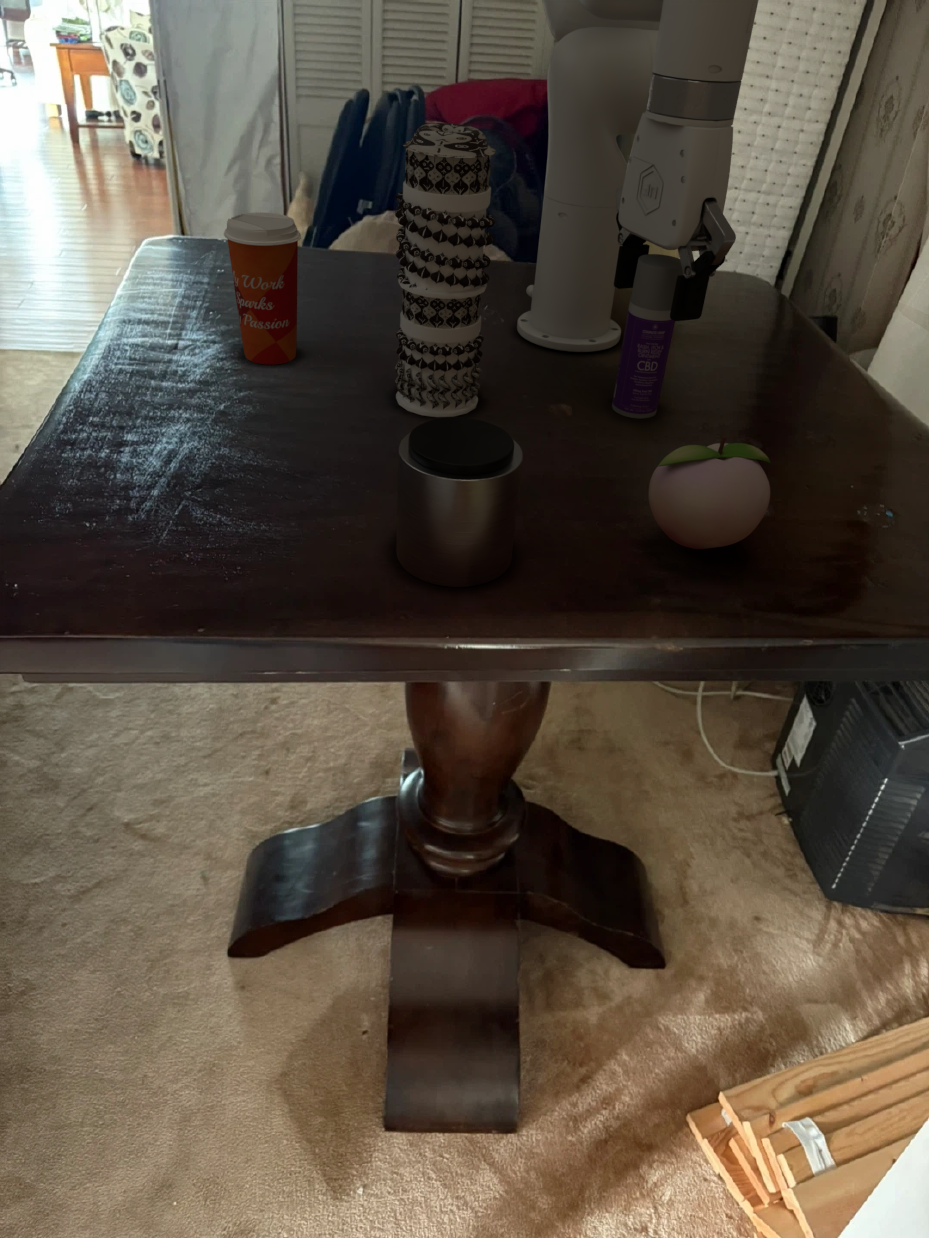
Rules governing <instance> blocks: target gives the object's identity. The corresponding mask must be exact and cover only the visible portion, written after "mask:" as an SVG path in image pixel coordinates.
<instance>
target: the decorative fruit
mask: <svg viewBox="0 0 929 1238" xmlns="http://www.w3.org/2000/svg"><path fill="white" fill-rule="evenodd" d="M759 461H763V462H765V463H767V464H771V460H770V458H769V457H768V455H767V454H766V453H764V451H762V450H761V449H760V448H758V447H756V446H754V445H751V444H748V443H742V442H731V443H727V435H725V434H723V435H722V436H721V438H720V442H718V443H713V444H709V445H707V446H705V445H700V444H687V445H684V446H680V447H678V448H676V449H673V451H671V452H670V453H668V454H667V455H666V456H665V457H664V458H663V459H662V460H661V461H660V462H659V463H658V465H657V466H656V468H655V469H654V471H653V473H652V475H651V477H650V481H649V484H648V494H647V495H648V504H649V508H650V512H651V514H652V516H653V518H654V520H655V522H656V524H657V526H658V527H659V529H661V531H662V532H663V533H664V534H665V535H666V536H667V537H668V538H669V539H670V540H671V541H673V542H674V543H676V544H678V545H680V546H682V547H685V548H689V549H693V550H705V549H706V550H707V549H713V548H721V547H726V546H730V545H734V544H736V543H738V542H740V541H743V540H745V539H746V538H747V537H748V536H749V535H751V534H752V533H753V532H754V531H755V529H756V528H757V527H758V525H759V524H760V523H761V521H762V519H763V518H764V516H765V514H766V512H767V510H768V507H769V504H770V500H771V486H770V481H769V479H768V476H767V474H766V472H765V471H764V468H763V467H762V465H761V464H760V462H759Z"/></svg>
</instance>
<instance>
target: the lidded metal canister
mask: <svg viewBox="0 0 929 1238" xmlns="http://www.w3.org/2000/svg"><path fill="white" fill-rule="evenodd" d="M397 457H398V460H397V461H398V462H397V500H396V501H397V503H396V504H397V506H396V507H397V508H396V547H395V548H396V551H395V552H396V558H397V561H398V562H399V564H400V566H401V567H402V568H403V570H405V571H406V572H407V573H408V574H410V575H411V576H413V577H415V578H417V579H418V580H421V581H423V582H425V583H428V584H429V583H430V584H432V585H437V586H441V587H447V588H450V587H451V588H469V587H476V586H480V585H484V584H488V583H490V582H492V581H495V580H497V579H498V578H499V577H501V576H502V575H504V574H505V573H506V572H507V570H508V569H509V568H510V565H511V563H512V560H513V559H512V558H513V549H514V541H515V533H516V522H517V515H518V514H517V513H518V505H519V495H520V488H521V478H522V469H523V461H524V452H523V450H522V448H521V446H520V444H518V442H517V441H515V439H513V437H512V436H511V434H510V433H509V432H508V431H506V429H504V428H502V427H500V426H498V425H496V424H494V423H491V422H489V421H484V420H482V419H476V418H472V417H471V418H469V417H461V416H459V417H458V416H454V417H439V418H435V419H431V420H427V421H424V422H422V423H420V424H419V425H417V426H415V427H414V428H413V429H412V430H411V431H410V432H409V433H408V434H406V435H405V436H403V438H402V439H401V440H400V442H399V444H398V456H397Z"/></svg>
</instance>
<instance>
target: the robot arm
mask: <svg viewBox="0 0 929 1238" xmlns="http://www.w3.org/2000/svg"><path fill="white" fill-rule="evenodd" d="M541 3H542V7H543V12H544V15H545V18H546V19H545V20H546V23H547V26H548V29H549V31H550V33H551V36H552V37H553V38H554V40H555V41H556V42H557V43H556V44H555V46H554V48H553V49H552V51H551V54H550V57H549V61H548V65H547V74H546V75H547V76H546V87H547V88H546V91H547V92H546V93H547V112H548V113H547V116H548V119H547V121H548V136H547V137H548V138H547V139H548V140H547V158H546V167H545V168H546V169H545V178H544V179H545V180H544V188H543V189H544V190H543V200H542V209H541V219H540V220H541V221H540V228H539V238H538V247H537V256H536V265H535V275H534V284H530V285H528V286H527V287H526V290H525V291H526V294H527V296H529V297H530V298H531V305H530V310H527V311H526V312H523V313H522V314H521V315H520V316H519V317H518V318H517V321H516V322H517V324H516V330H517V333H518V334H519V335H520V336H521V337H522V338H523V339H524V340H526V341H528V342H530V343H532V344H534V345H536V346H539V347H542V348H546V349H550V350H554V351H561V352H570V353H593V352H599V351H604V350H607V349H611V348H612V347H615V346H616V345H617V344H618V343H619V342H620V339H621V335H622V328H621V327H620V325H619V324H618V323H617V322H616V321H615V320H613V319H611V316H612V309H613V302H614V297H615V291H616V289H618V290H622V289H633V284H634V279H635V274H636V269H637V264H638V259H639V257H640V256H642V255H647V254H650V247H651V246H650V245H649V244H647V242H648V243H651V244H653V245H654V246H657V247H658V248H661V249H664V250H667V251H675V250H677V253H678V257H679V259H680V262H681V266H682V270H683V275H678V277H677V281H676V286H675V291H674V296H673V302H672V307H671V312H670V318H671V319H672V320H674V321H675V322H681V321H683V322H684V321H691V320H692V321H693V320H698V319H700V318H701V317H702V315H703V309H704V305H705V300H706V296H707V292H708V287H709V282H710V277H711V278H712V277H714V276H715V275H716V273H717V269H719V268H720V267H721V266H722V265H723V264H724V263H725V261H726V256H728V254H729V252H730V251H731V249H732V248H733V245H734V244H735V242H736V240H737V235H736V232H735V231H734V229H733V227H732V226H731V225H730V223H729V221H728V220H727V218H726V216H725V214H724V211H725V210H724V209H725V205H726V200H727V193H728V187H729V180H730V173H731V166H732V165H731V163H732V157H733V156H732V155H733V141H734V126H733V125H734V120H735V115H736V110H737V105H738V100H739V97H740V96H739V95H740V92H741V91H740V90H741V86H742V80H743V77H744V72H745V68H746V64H747V63H746V62H747V58H748V54H749V47H750V42H751V39H752V33H753V29H754V24H755V19H756V14H757V9H758V4H759V0H541ZM623 135H634V137H633V141H632V146H631V150H630V152H629V153H630V154H629V157H628V162H627V160H626V159H625V157H624V155H623V153H622V151H621V150H620V147H619V145H618V142H617V137H618V136H623ZM693 252H698V255H699V256H698V257H697V258H696V259H694V253H693Z"/></svg>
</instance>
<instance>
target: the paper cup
mask: <svg viewBox="0 0 929 1238" xmlns="http://www.w3.org/2000/svg"><path fill="white" fill-rule="evenodd" d="M223 237H224V238H225V239H227V245H228V252H229V253H228V254H229V260H230V265H231V266H230V267H231V274H232V280H233V287H234V295H235V301H236V309H237V314H238V322H239V328H240V335H241V341H242V348H243V354H244V356H245V358H246V359H247V360H248V361H250V362H252V363H255V364H259V365H267V366H269V365H271V366H272V365H281V364H286V363H290V362H291V361H293V360H294V359H295V358H296V356H297V339H298V337H297V336H298V261H299V260H298V259H299V258H298V256H299V255H298V254H299V253H298V252H299V241H300V240H301V239H302V234H301V232H300V230H299V229H298V226H297V225H296V223H295V219H293V217H291V216H288V215H286V214H280V213H273V212H261V211H260V212H259V211H258V212H257V211H256V212H255V211H254V212H244V213H240V214H238V215H235V216H233V217H232V216H231V218H228V219H227V220H226V228H225V229H224V231H223Z"/></svg>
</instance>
